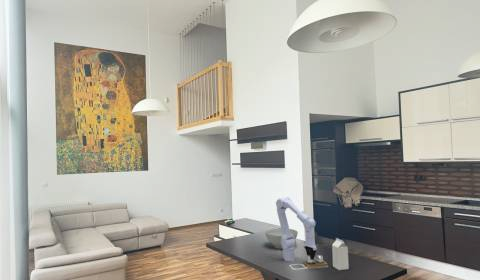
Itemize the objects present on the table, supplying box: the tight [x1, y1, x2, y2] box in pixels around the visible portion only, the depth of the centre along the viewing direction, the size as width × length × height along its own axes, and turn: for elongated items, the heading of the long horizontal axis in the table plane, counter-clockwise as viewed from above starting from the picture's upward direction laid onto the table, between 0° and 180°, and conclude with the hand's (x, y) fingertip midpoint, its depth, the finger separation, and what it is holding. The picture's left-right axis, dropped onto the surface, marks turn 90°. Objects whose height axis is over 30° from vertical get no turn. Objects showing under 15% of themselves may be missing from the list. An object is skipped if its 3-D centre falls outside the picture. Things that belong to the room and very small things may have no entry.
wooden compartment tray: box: [303, 260, 329, 270], centre depth 203 cm, size 8×14×3 cm, turn 101°
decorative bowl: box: [264, 227, 299, 250], centre depth 255 cm, size 27×27×12 cm
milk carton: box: [331, 237, 350, 271], centre depth 199 cm, size 7×7×19 cm
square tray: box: [288, 263, 308, 271], centre depth 202 cm, size 9×9×2 cm
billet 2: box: [316, 254, 324, 264], centre depth 204 cm, size 4×4×6 cm
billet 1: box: [306, 254, 314, 265], centre depth 202 cm, size 4×4×6 cm
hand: (310, 258), depth 203 cm, fingers closed on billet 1, 4 cm apart
